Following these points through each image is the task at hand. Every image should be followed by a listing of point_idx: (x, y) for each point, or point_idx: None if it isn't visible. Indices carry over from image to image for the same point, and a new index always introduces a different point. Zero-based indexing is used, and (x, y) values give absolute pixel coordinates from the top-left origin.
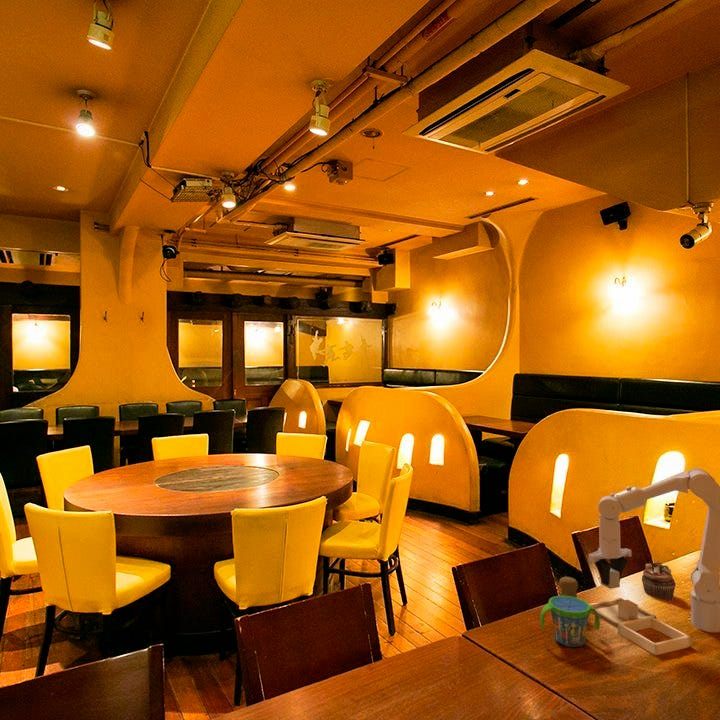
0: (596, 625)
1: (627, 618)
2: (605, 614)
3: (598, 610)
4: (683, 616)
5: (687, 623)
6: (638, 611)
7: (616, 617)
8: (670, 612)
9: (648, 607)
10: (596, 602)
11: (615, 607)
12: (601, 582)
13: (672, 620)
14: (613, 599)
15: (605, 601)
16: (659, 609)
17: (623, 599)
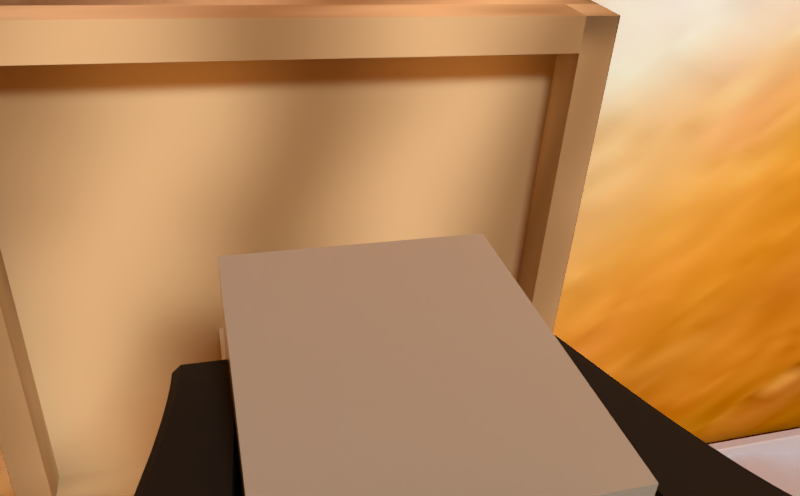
0: None
1: None
2: (105, 253)
3: (85, 139)
4: (785, 351)
5: (694, 432)
6: (519, 285)
7: (187, 334)
8: (784, 281)
9: (741, 155)
10: (161, 20)
11: (379, 135)
12: (223, 293)
13: (656, 384)
14: (488, 26)
15: (327, 40)
16: (774, 216)
17: (602, 74)
